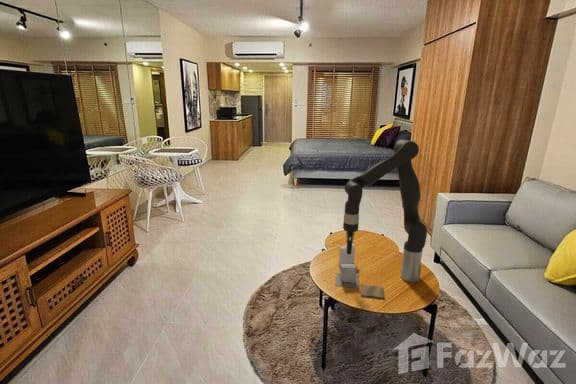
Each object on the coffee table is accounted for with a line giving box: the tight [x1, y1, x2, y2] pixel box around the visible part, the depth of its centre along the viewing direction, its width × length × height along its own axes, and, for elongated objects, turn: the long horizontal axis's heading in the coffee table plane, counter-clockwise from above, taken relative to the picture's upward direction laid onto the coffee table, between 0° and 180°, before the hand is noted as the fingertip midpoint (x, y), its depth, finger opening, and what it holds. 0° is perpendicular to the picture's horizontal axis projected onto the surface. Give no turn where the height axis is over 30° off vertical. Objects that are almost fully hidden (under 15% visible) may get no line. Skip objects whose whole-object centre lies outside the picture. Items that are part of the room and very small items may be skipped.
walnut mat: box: [360, 284, 385, 300], centre depth 156 cm, size 11×9×1 cm
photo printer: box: [338, 243, 356, 266], centre depth 181 cm, size 10×4×12 cm, turn 123°
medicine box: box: [339, 263, 358, 282], centre depth 164 cm, size 8×4×9 cm, turn 92°
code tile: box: [334, 272, 360, 289], centre depth 166 cm, size 12×12×1 cm
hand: (349, 250), depth 161 cm, fingers open, 8 cm apart
